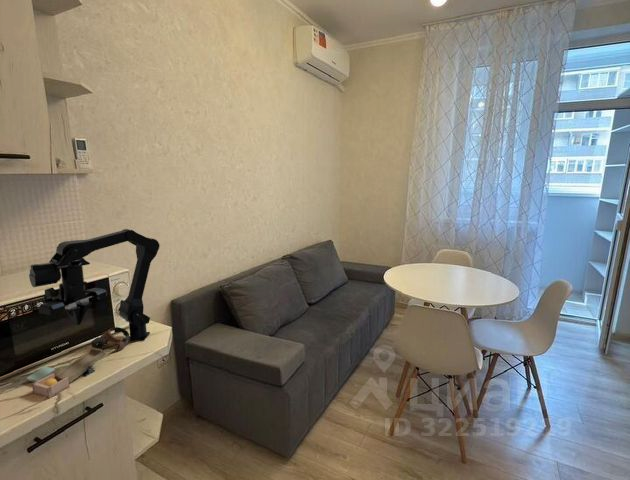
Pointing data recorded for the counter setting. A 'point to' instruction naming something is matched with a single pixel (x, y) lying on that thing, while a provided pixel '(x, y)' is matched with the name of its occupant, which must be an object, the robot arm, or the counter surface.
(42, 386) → the dish
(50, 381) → the ball
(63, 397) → the counter surface
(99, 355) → the lever
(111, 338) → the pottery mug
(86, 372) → the fulcrum
